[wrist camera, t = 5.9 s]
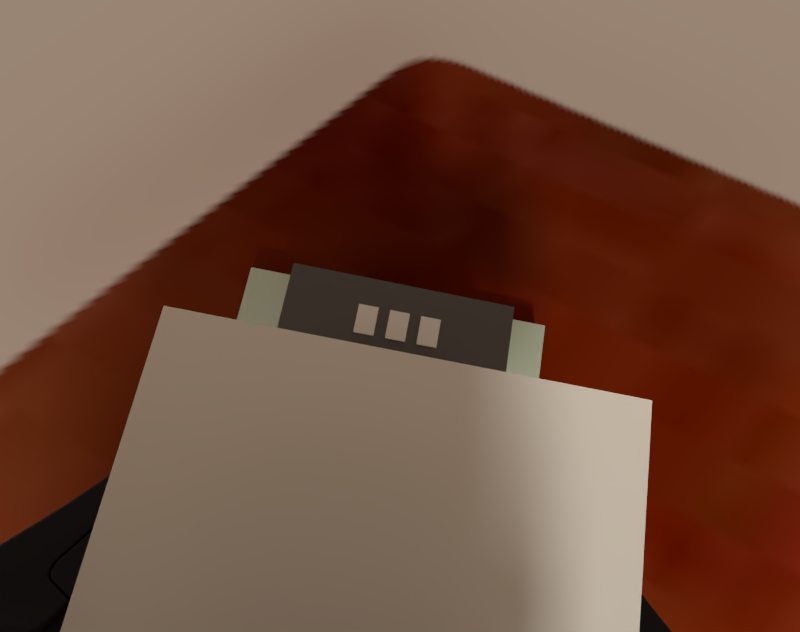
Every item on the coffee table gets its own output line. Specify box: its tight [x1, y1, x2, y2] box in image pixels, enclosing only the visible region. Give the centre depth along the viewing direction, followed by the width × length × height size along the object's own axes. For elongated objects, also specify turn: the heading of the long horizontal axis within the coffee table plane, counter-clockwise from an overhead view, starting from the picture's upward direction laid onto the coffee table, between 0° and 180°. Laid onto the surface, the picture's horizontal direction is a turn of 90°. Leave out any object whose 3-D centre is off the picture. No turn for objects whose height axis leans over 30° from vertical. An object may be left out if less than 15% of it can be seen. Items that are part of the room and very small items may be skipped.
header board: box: [237, 263, 545, 378], centre depth 14 cm, size 18×14×5 cm
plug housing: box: [60, 306, 652, 632], centre depth 9 cm, size 5×6×11 cm
